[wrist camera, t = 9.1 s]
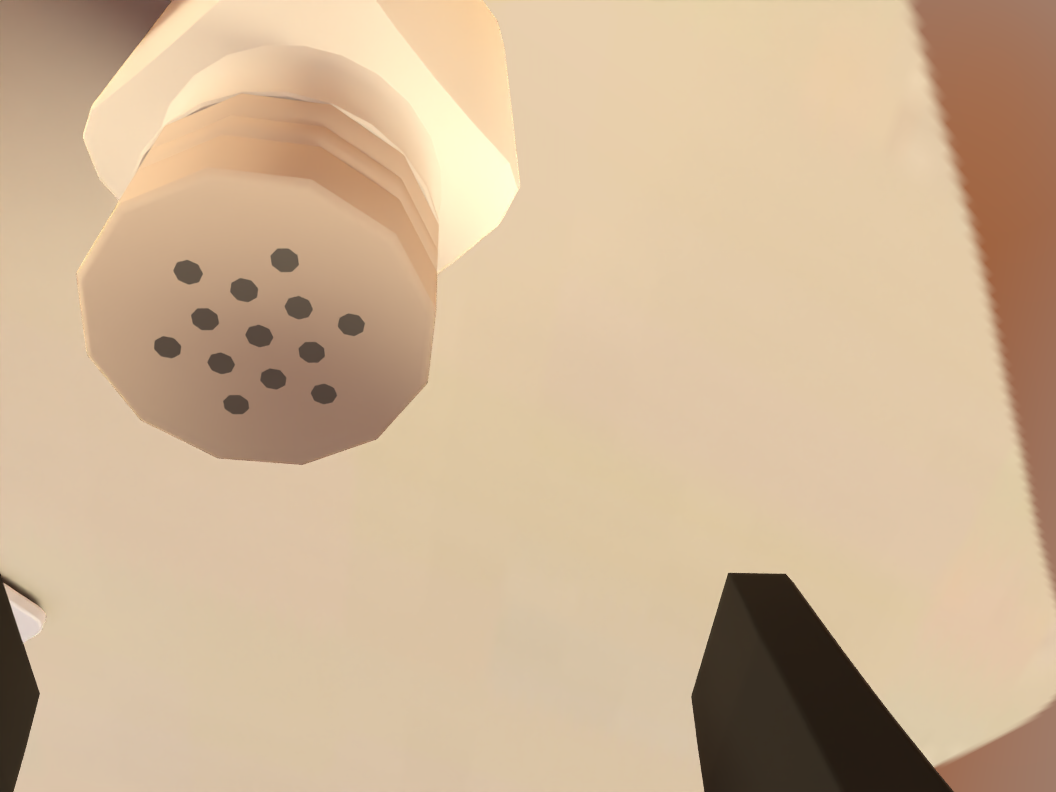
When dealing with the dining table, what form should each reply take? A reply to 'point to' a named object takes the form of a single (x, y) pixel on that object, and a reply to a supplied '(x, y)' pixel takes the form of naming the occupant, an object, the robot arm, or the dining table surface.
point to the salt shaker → (290, 213)
